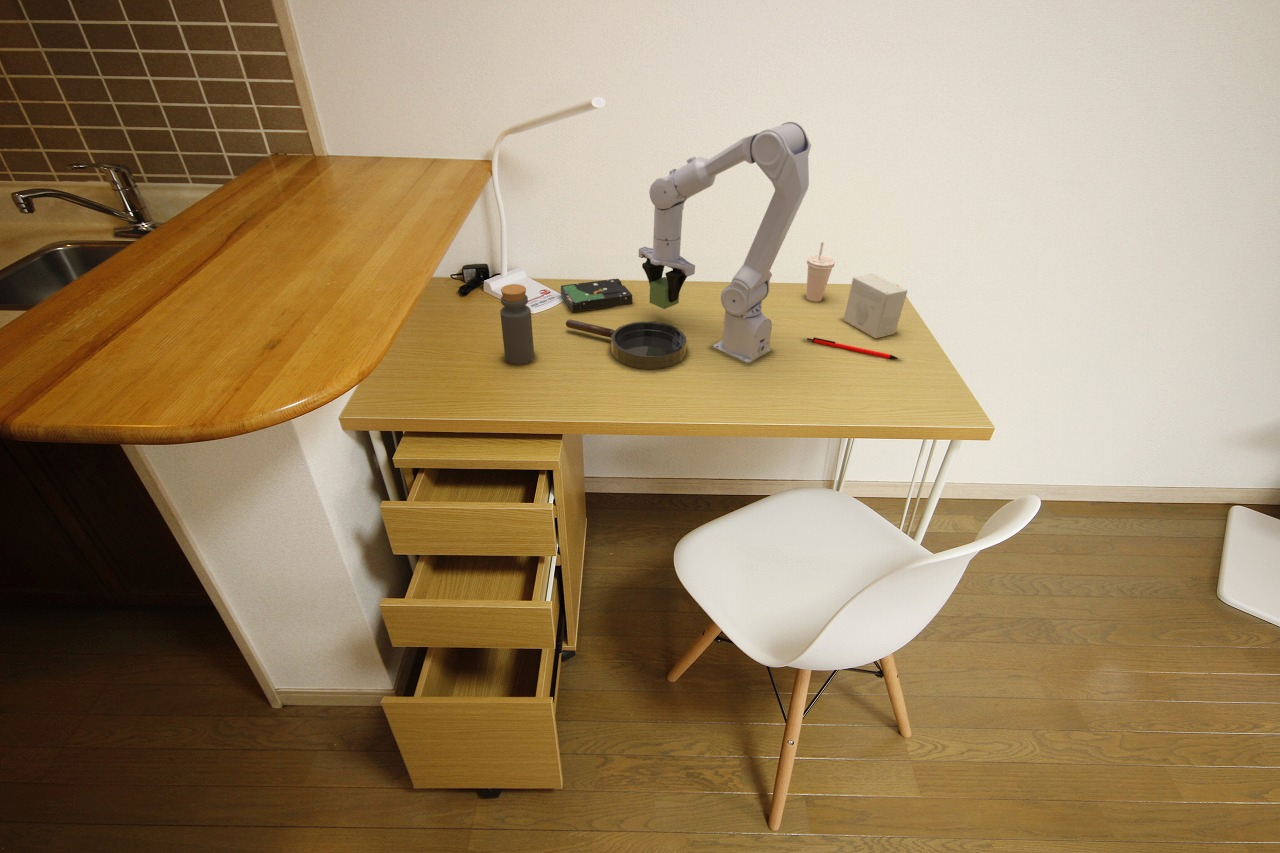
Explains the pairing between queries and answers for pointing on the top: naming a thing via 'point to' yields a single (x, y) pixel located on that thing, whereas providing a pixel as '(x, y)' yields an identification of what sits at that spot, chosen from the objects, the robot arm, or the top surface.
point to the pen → (851, 348)
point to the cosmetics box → (874, 305)
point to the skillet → (648, 345)
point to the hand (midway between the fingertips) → (664, 297)
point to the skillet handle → (589, 328)
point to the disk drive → (595, 295)
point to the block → (660, 294)
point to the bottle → (516, 325)
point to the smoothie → (818, 275)
